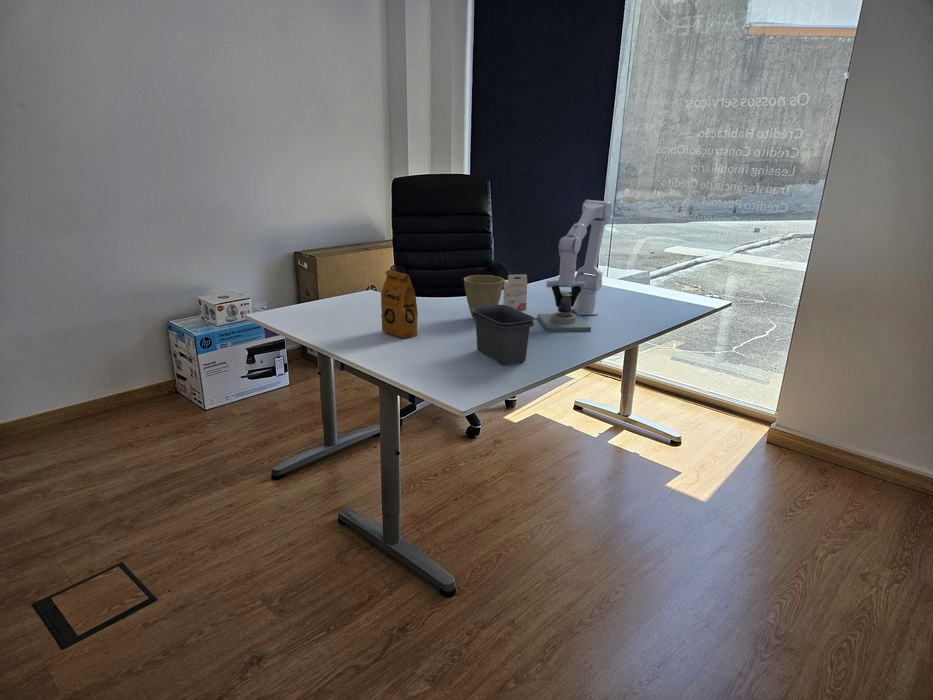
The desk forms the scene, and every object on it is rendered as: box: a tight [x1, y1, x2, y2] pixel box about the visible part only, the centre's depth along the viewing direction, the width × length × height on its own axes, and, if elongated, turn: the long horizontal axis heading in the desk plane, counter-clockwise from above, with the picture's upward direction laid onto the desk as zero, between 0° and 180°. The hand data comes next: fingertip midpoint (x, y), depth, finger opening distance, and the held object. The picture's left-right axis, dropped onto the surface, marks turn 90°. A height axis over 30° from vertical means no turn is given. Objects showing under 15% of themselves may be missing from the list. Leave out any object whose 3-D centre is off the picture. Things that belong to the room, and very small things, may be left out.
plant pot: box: [463, 274, 505, 322], centre depth 226 cm, size 15×15×16 cm
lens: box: [557, 290, 573, 313], centre depth 223 cm, size 5×5×7 cm
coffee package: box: [380, 269, 419, 340], centre depth 207 cm, size 10×12×22 cm
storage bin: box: [471, 304, 536, 366], centre depth 189 cm, size 21×16×14 cm
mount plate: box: [537, 311, 592, 332], centre depth 226 cm, size 18×16×4 cm
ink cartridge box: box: [502, 273, 528, 311], centre depth 243 cm, size 9×5×15 cm, turn 105°
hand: (564, 306), depth 224 cm, fingers closed on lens, 5 cm apart
